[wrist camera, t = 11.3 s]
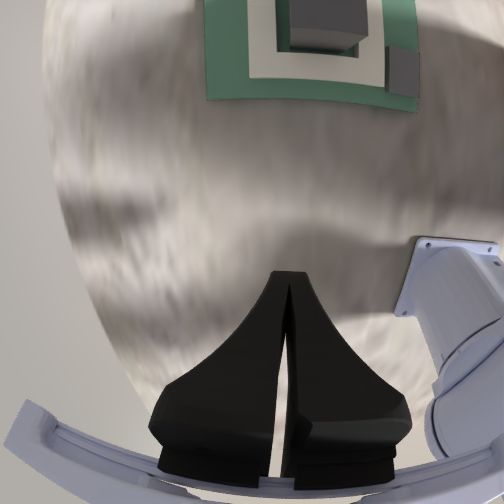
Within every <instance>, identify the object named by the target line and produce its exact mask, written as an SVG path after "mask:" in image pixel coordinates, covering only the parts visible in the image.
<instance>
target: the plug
mask: <svg viewBox="0 0 504 504" xmlns="http://www.w3.org/2000/svg"><path fill="white" fill-rule="evenodd" d="M289 26H290V49H292V50H311V51H323V52H334V53H343V52H344V51H346V50H347V49H349V48H350V47H352V46H354V45H355V44H357V43H358V42H360V41H361V40H363V39H365V38H366V37H368V15H367V0H289Z"/></svg>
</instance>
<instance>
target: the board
mask: <svg viewBox="0 0 504 504" xmlns="http://www.w3.org/2000/svg"><path fill="white" fill-rule="evenodd" d="M367 15H368V37H366V38H365V39H363V40H361V41H360V42H358V43H357V44H355V45H354V46H352V47H350V48H349V49H347V50H346V51H344V52H343V53H334V52H323V51H311V50H292V49H290V26H289V0H204V32H205V65H206V89H207V100H222V99H244V98H290V99H312V100H327V101H338V102H348V103H357V104H364V105H372V106H379V107H385V108H391V109H397V110H402V111H407V112H412V113H417V104H418V98H419V82H420V53H418V31H417V17H416V7H415V0H367Z"/></svg>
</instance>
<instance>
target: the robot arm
mask: <svg viewBox="0 0 504 504" xmlns="http://www.w3.org/2000/svg"><path fill="white" fill-rule="evenodd" d="M427 243H429V245H427V246H426V244H427ZM489 247H490V248H489ZM488 248H489V249H488ZM499 251H500V246H499V244H497V243H489V242H477V241H466V240H453V239H441V238H427V237H421V238H419V239H418V240H417V242H416V246H415V249H414V253H413V256H412V260H411V263H410V266H409V269H408V273H407V276H406V279H405V282H404V285H403V288H402V291H401V294H400V296H399V299H398V302H397V305H396V307H395V310H394V314H395V316H396V317H417V319H418V321H419V324H420V326H421V329H422V331H423V334H424V337H425V339H426V342H427V345H428V348H429V350H430V353H431V356H432V359H433V362H434V365H435V368H436V371H437V374H438V377H439V378H438V379H437V380H436V381H435V382H434V383H433V384H432V389H433V392H434V396H435V398H433V399H432V400H431V401H430V403H429V404H428V406H427V409H426V412H425V422H424V424H425V425H424V427H425V436H426V441H427V444H428V447H429V449H430V451H431V452H432V454H433V456H434V457H435V458H436V459H437V460H438V461H434V462H430V463H426V464H422V465H418V466H413V467H408V468H403V469H398V470H394V462H393V458H395V457H396V445H397V444H398V443H399V442H400V441H401V440H402V439H403V438H404V437H405V436H406V435H407V434H408V433H409V432H410V430H411V429H412V420H411V414H410V411H409V408H408V405H407V402H406V400H405V397H404V395H403V394H401V393H400V392H399V391H397V390H396V389H395V388H393V387H392V386H391V385H389V384H388V383H387V382H385V381H384V380H383V379H382V378H381V377H379V376H378V375H377V374H376V373H375V372H374V371H373V370H372V369H371V368H370V367H369V366H368V365H367V364H366V363H365V362H364V361H363V360H362V359H361V358H360V357H359V356H358V355H357V354H356V353H355V352H354V351H353V349H352V348H351V347H350V346H349V345H348V343H347V342H346V341H345V340H344V338H343V337H342V336H341V335H340V333H339V332H338V330H337V329H336V328H335V326H334V325H333V323H332V322H331V320H330V318H329V317H328V315H327V314H326V312H325V310H324V309H323V307H322V305H321V303H320V301H319V300H318V298H317V296H316V294H315V292H314V290H313V287H312V285H311V283H310V280H309V277H308V275H307V273H306V272H292V271H273V272H271V274H270V277H269V280H268V282H267V284H266V286H265V288H264V290H263V292H262V294H261V295H260V297H259V299H258V300H257V302H256V304H255V305H254V307H253V308H252V309H251V311H250V312H249V314H248V315H247V316H246V318H245V319H244V320H243V322H242V323H241V324H240V325H239V327H238V328H237V329H236V330H235V331H234V332H233V333H232V335H231V336H230V337H229V338H228V339H227V340H226V341H225V342H224V343H223V344H222V345H221V346H220V347H219V348H217V349H216V350H215V351H214V352H213V353H212V354H211V355H209V356H208V357H207V358H206V359H204V360H203V361H202V362H201V363H199V364H198V365H197V366H196V367H194V368H193V369H191V370H190V371H189V372H187V373H186V374H184V375H182V376H181V377H179V378H178V379H176V380H175V381H173V382H171V383H170V384H168V385H166V387H165V388H164V390H163V392H162V393H161V395H160V397H159V399H158V401H157V403H156V405H155V407H154V410H153V413H152V416H151V419H150V422H149V426H148V428H149V430H150V431H151V433H152V434H153V436H154V437H155V438H156V439H157V440H158V442H159V443H160V444H161V445H162V446H163V448H162V451H161V455H160V458H159V459H157V458H153V457H150V456H147V455H143V454H140V453H136V452H133V451H130V450H127V449H124V448H121V447H118V446H116V445H113V444H110V443H107V442H105V441H102V440H100V439H97V438H95V437H93V436H90V435H88V434H85V433H83V432H81V431H79V430H76V429H74V428H72V427H70V426H68V425H66V424H64V423H62V422H60V421H58V420H57V419H56V418H55V416H54V415H52V414H51V413H50V412H49V411H47V410H46V409H44V408H43V407H41V406H39V405H37V404H35V403H33V402H32V401H30V400H28V399H26V400H25V402H24V404H23V406H22V408H21V410H20V411H19V413H18V415H17V417H16V419H15V421H14V423H13V425H12V427H11V429H10V431H9V433H8V435H7V437H6V439H5V442H4V446H5V447H6V448H7V449H8V450H10V451H11V452H12V453H13V454H15V455H16V456H17V457H19V458H20V459H21V460H23V461H24V462H25V463H27V464H28V465H29V466H31V467H32V468H34V469H35V470H36V471H38V472H39V473H41V474H42V475H44V476H45V477H47V478H48V479H50V480H51V481H53V482H54V483H56V484H57V485H59V486H61V487H63V488H64V489H66V490H67V491H69V492H71V493H72V494H74V495H76V496H78V497H79V498H81V499H83V500H85V501H87V502H89V503H90V504H229V503H221V502H214V501H207V500H201V499H200V498H199V497H197V496H195V495H192V494H190V493H188V492H187V490H186V489H185V488H182V487H179V486H176V485H173V484H170V483H174V484H179V485H182V486H187V487H191V488H196V489H201V490H207V491H212V492H218V493H225V494H232V495H241V496H250V497H262V498H279V499H280V498H281V499H317V498H318V499H319V498H336V497H349V496H357V495H366V494H372V495H368V496H364V497H362V498H361V500H359V501H357V502H354V503H351V504H486V503H488V502H490V501H491V500H493V499H495V498H497V497H499V496H500V495H501V496H502V498H503V500H504V263H503V262H502V260H501V259H500V258H499V257H498V254H499ZM404 311H405V312H404ZM285 333H286V347H287V367H288V396H287V411H286V423H285V435H284V446H283V456H282V465H281V474H280V478H278V477H268V474H269V467H270V459H271V451H272V443H273V434H274V424H275V412H276V399H277V386H278V375H279V369H280V364H281V358H282V352H283V346H284V340H285ZM158 479H159V480H158ZM161 480H163V481H161ZM164 481H166V482H164ZM167 482H170V483H167ZM379 492H381V493H379ZM373 493H377V494H373Z"/></svg>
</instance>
